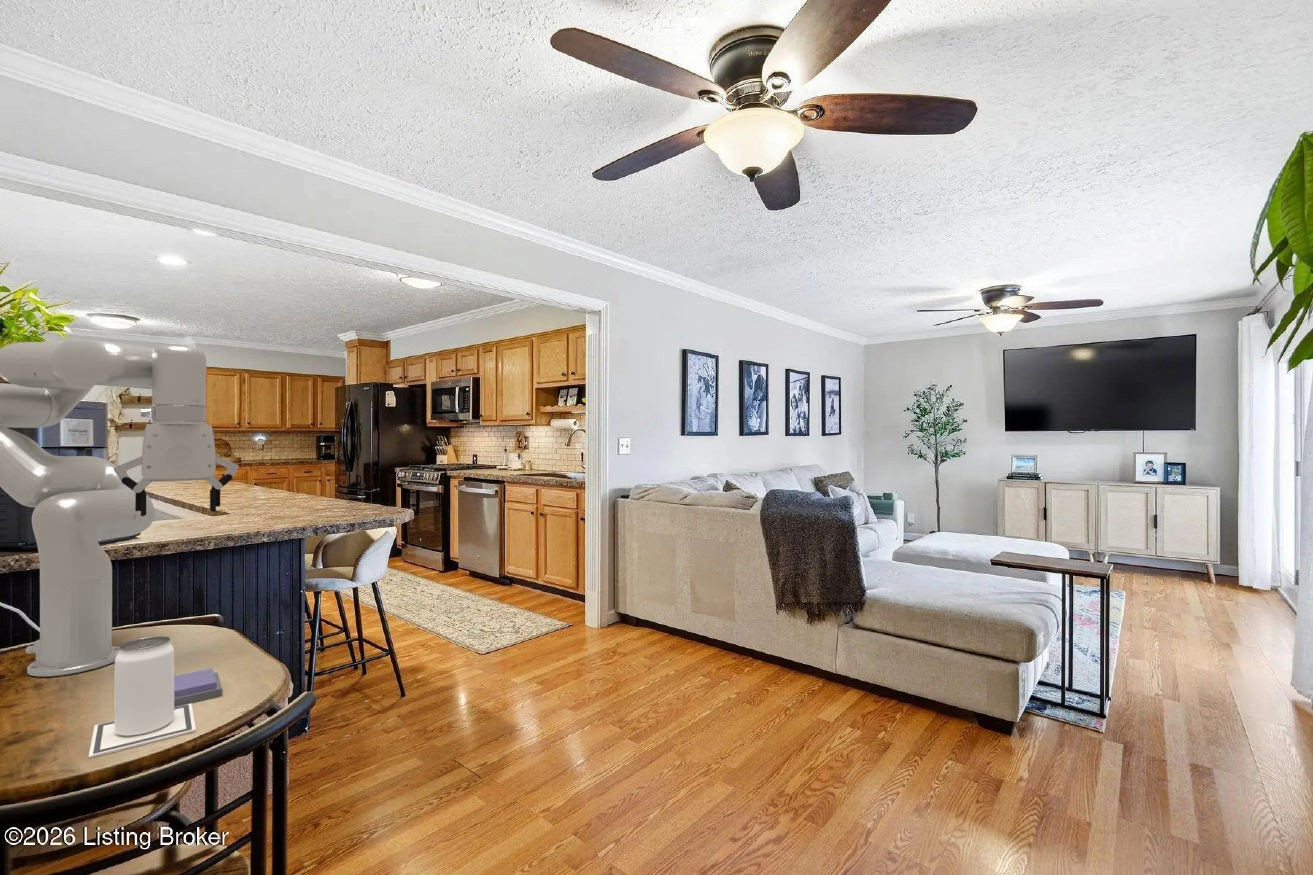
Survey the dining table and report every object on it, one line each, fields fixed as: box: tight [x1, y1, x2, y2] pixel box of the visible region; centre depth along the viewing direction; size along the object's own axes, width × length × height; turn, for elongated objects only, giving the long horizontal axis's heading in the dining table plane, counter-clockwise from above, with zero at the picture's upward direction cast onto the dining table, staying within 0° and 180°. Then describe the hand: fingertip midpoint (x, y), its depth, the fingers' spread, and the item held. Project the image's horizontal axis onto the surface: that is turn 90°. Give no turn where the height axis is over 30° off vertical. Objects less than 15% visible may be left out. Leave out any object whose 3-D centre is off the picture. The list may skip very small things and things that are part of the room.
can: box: [114, 635, 175, 737], centre depth 85 cm, size 6×6×12 cm
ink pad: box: [174, 668, 223, 707], centre depth 97 cm, size 9×9×2 cm
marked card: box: [88, 703, 197, 759], centre depth 85 cm, size 11×11×1 cm
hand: (179, 513), depth 106 cm, fingers open, 9 cm apart
